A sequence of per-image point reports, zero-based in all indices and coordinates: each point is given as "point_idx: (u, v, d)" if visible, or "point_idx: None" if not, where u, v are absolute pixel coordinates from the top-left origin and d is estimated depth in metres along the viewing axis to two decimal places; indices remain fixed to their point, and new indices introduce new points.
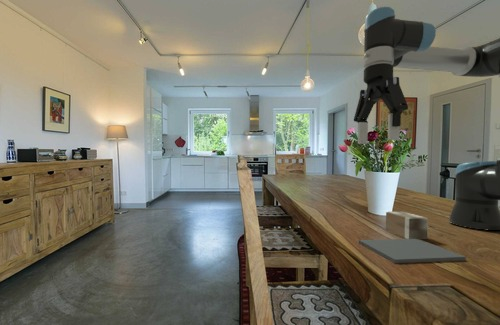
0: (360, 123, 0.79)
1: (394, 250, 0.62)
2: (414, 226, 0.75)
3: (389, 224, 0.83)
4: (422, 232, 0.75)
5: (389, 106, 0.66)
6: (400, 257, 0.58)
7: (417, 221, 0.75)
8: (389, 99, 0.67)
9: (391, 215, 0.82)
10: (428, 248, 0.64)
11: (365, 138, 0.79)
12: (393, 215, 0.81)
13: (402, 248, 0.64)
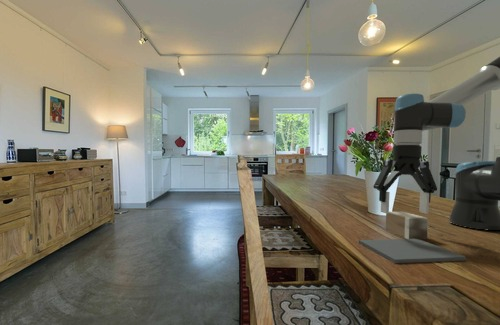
0: (420, 193, 0.82)
1: (394, 250, 0.62)
2: (414, 226, 0.75)
3: (389, 224, 0.83)
4: (422, 232, 0.75)
5: None
6: (400, 257, 0.58)
7: (417, 221, 0.75)
8: (388, 178, 0.79)
9: (391, 215, 0.82)
10: (428, 248, 0.64)
11: (424, 208, 0.80)
12: (393, 215, 0.81)
13: (402, 248, 0.64)
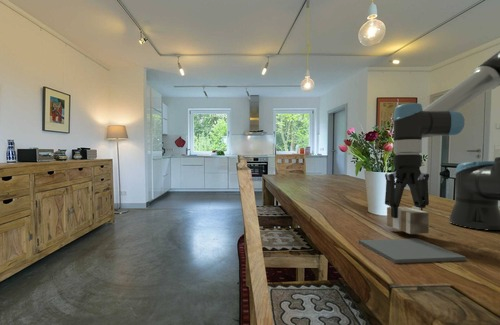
0: (412, 207, 0.81)
1: (394, 250, 0.62)
2: (416, 220, 0.75)
3: (390, 219, 0.83)
4: (423, 226, 0.75)
5: None
6: (400, 257, 0.58)
7: (418, 216, 0.75)
8: (395, 192, 0.80)
9: None
10: (428, 248, 0.64)
11: None
12: None
13: (402, 248, 0.64)
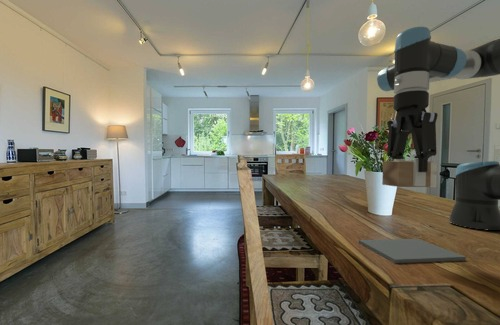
0: (396, 160, 0.67)
1: (394, 250, 0.62)
2: None
3: (405, 177, 0.61)
4: None
5: (417, 149, 0.60)
6: (400, 257, 0.58)
7: None
8: (419, 138, 0.61)
9: (408, 163, 0.61)
10: (428, 248, 0.64)
11: None
12: (412, 163, 0.61)
13: (402, 248, 0.64)
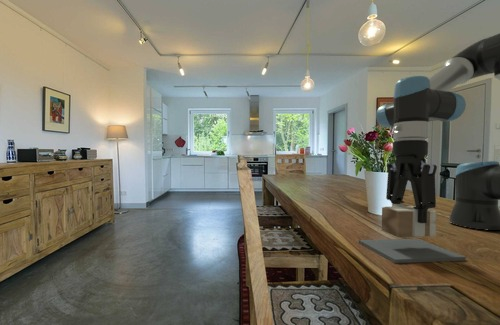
0: (396, 205, 0.67)
1: (394, 250, 0.62)
2: None
3: (404, 227, 0.61)
4: None
5: (416, 199, 0.60)
6: (400, 257, 0.58)
7: None
8: (418, 189, 0.61)
9: (408, 213, 0.61)
10: (428, 248, 0.64)
11: None
12: (411, 213, 0.61)
13: (402, 248, 0.64)
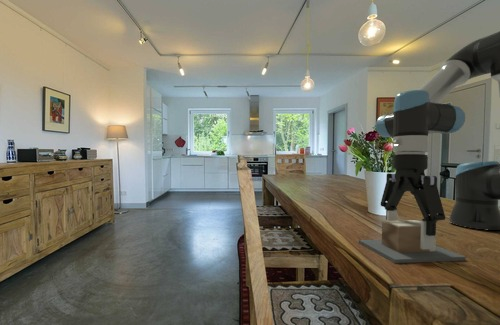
0: (389, 212, 0.70)
1: None
2: None
3: (404, 242, 0.61)
4: None
5: (423, 211, 0.58)
6: (400, 257, 0.58)
7: None
8: (423, 200, 0.59)
9: (408, 229, 0.61)
10: None
11: None
12: (411, 228, 0.61)
13: None
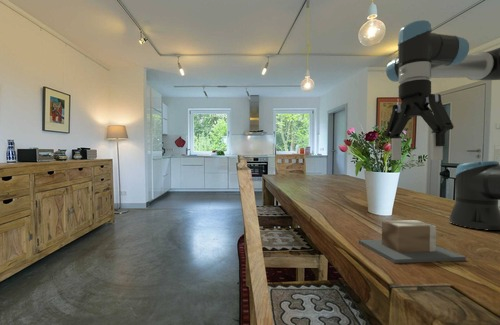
0: (393, 139, 0.76)
1: None
2: None
3: (404, 242, 0.61)
4: None
5: (432, 125, 0.63)
6: (400, 257, 0.58)
7: None
8: (430, 117, 0.64)
9: (408, 229, 0.61)
10: None
11: (399, 154, 0.76)
12: (411, 228, 0.61)
13: None
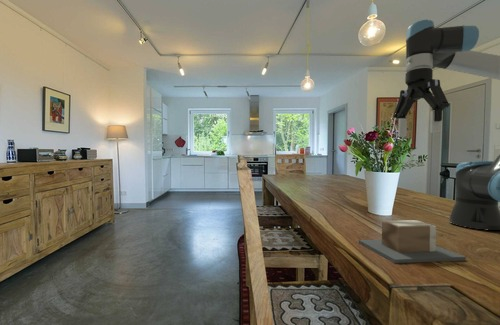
0: (400, 119, 0.91)
1: None
2: None
3: (404, 242, 0.61)
4: None
5: (432, 104, 0.78)
6: (400, 257, 0.58)
7: None
8: (431, 98, 0.79)
9: (408, 229, 0.61)
10: None
11: (405, 132, 0.91)
12: (411, 228, 0.61)
13: None
